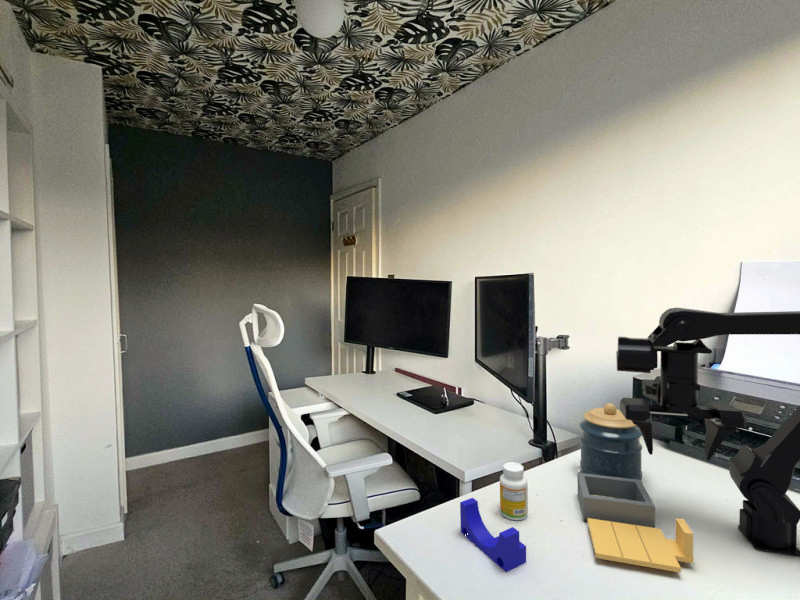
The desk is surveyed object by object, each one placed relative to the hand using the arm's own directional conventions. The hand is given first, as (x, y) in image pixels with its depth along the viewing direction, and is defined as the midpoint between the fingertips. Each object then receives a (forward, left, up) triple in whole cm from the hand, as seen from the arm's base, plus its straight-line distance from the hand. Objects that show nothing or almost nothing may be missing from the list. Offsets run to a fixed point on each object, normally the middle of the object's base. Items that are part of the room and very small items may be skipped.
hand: (678, 456), depth 74 cm
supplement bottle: (+30, +5, -13) cm, 33 cm away
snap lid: (+9, +11, -13) cm, 19 cm away
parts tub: (+11, 0, -13) cm, 17 cm away
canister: (+9, -16, -13) cm, 23 cm away
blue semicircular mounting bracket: (+33, +16, -14) cm, 40 cm away
